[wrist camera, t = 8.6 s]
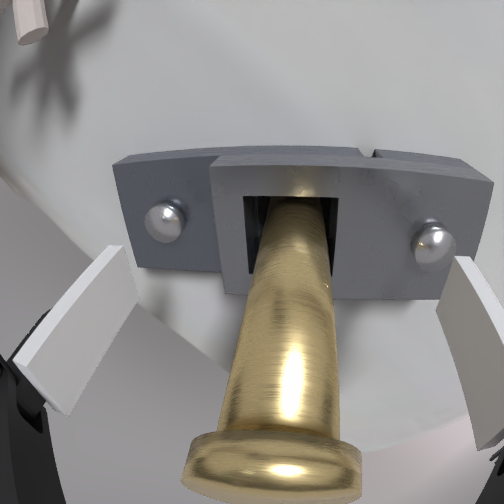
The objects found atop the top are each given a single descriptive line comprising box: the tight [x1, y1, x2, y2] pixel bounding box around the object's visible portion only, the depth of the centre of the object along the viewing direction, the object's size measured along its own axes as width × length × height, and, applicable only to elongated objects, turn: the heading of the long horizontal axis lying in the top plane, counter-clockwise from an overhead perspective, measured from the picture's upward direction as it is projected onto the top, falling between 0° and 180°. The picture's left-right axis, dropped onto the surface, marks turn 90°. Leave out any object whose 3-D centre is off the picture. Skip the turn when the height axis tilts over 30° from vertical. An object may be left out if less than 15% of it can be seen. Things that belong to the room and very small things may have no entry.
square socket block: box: [112, 146, 494, 300], centre depth 16 cm, size 7×20×5 cm, turn 93°
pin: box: [181, 196, 362, 504], centre depth 11 cm, size 4×4×15 cm
